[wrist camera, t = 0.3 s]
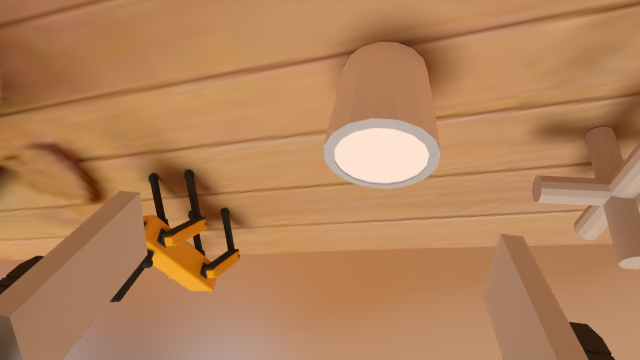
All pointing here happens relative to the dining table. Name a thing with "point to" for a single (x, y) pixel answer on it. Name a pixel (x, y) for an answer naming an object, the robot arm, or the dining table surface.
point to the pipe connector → (602, 195)
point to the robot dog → (181, 246)
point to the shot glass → (383, 119)
